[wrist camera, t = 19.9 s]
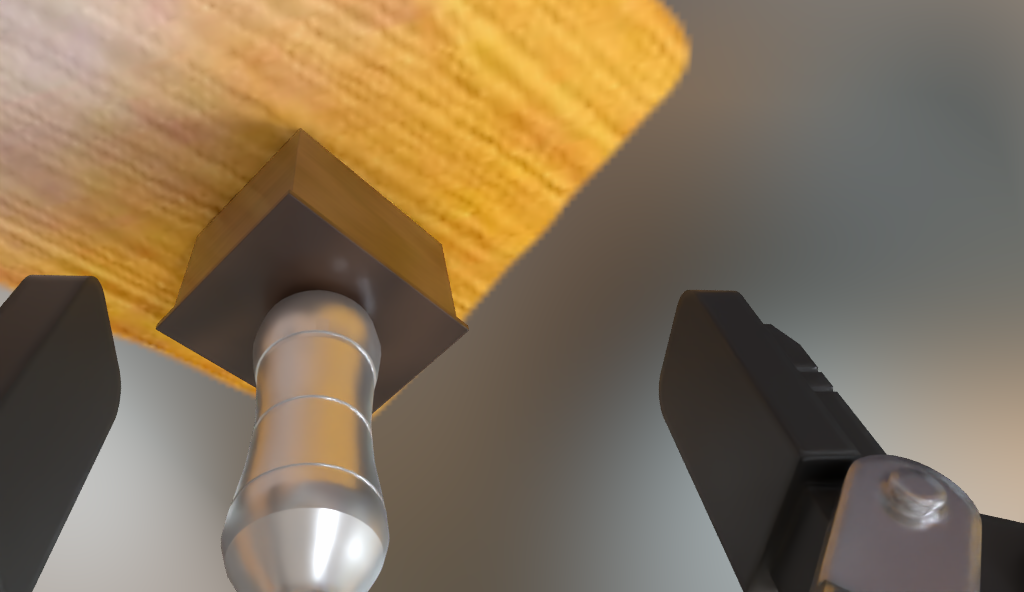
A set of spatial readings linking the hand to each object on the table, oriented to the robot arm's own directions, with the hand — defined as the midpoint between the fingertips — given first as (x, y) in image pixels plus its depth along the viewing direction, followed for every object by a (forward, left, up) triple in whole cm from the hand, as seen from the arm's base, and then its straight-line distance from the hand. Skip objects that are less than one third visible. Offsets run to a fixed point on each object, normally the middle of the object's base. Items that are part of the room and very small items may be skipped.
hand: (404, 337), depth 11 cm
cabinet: (+11, -16, -37) cm, 42 cm away
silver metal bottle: (+10, -15, -26) cm, 32 cm away
